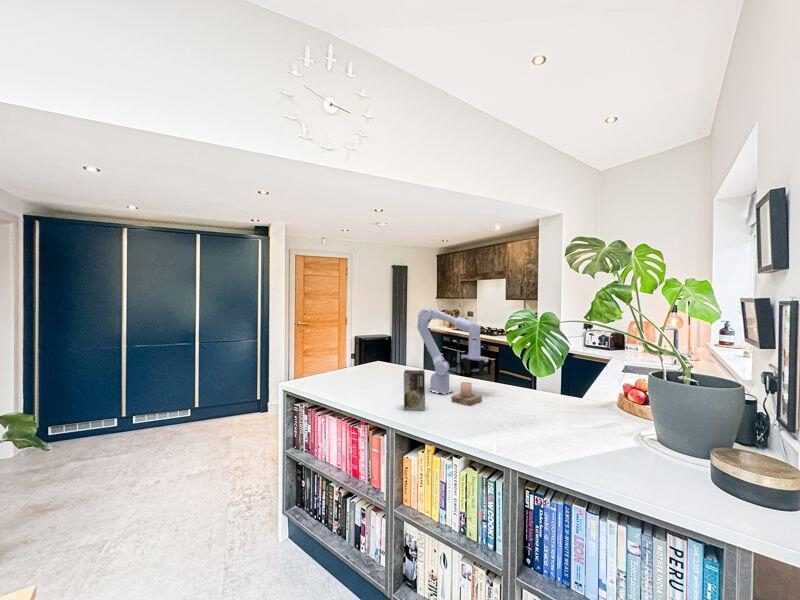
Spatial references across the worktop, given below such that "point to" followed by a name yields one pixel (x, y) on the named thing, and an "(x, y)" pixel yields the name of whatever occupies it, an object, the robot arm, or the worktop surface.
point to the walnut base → (466, 399)
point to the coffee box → (414, 390)
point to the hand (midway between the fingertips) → (474, 374)
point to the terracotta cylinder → (466, 390)
